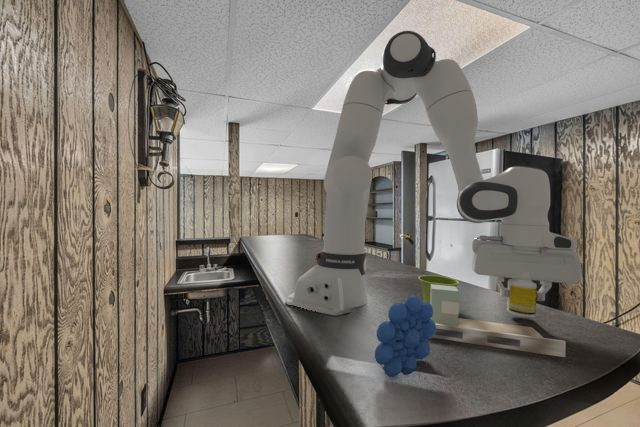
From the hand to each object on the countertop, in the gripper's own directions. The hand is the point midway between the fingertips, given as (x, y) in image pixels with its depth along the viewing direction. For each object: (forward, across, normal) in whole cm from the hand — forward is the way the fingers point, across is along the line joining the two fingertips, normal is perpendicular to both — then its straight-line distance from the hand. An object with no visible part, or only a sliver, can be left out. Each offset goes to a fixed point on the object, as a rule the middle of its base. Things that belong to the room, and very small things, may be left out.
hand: (521, 298), depth 63 cm
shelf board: (+6, -10, -11) cm, 17 cm away
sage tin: (+5, -17, -11) cm, 21 cm away
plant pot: (+7, -18, +1) cm, 19 cm away
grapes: (+7, -25, -29) cm, 39 cm away
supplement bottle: (+4, 0, 0) cm, 4 cm away
